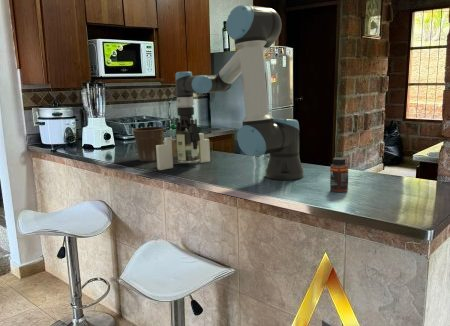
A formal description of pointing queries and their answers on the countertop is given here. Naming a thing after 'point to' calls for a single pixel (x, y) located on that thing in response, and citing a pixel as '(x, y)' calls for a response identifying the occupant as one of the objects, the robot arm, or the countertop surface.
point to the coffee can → (185, 147)
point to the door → (174, 151)
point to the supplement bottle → (339, 175)
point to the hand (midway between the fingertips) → (188, 154)
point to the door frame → (166, 152)
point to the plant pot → (148, 142)
